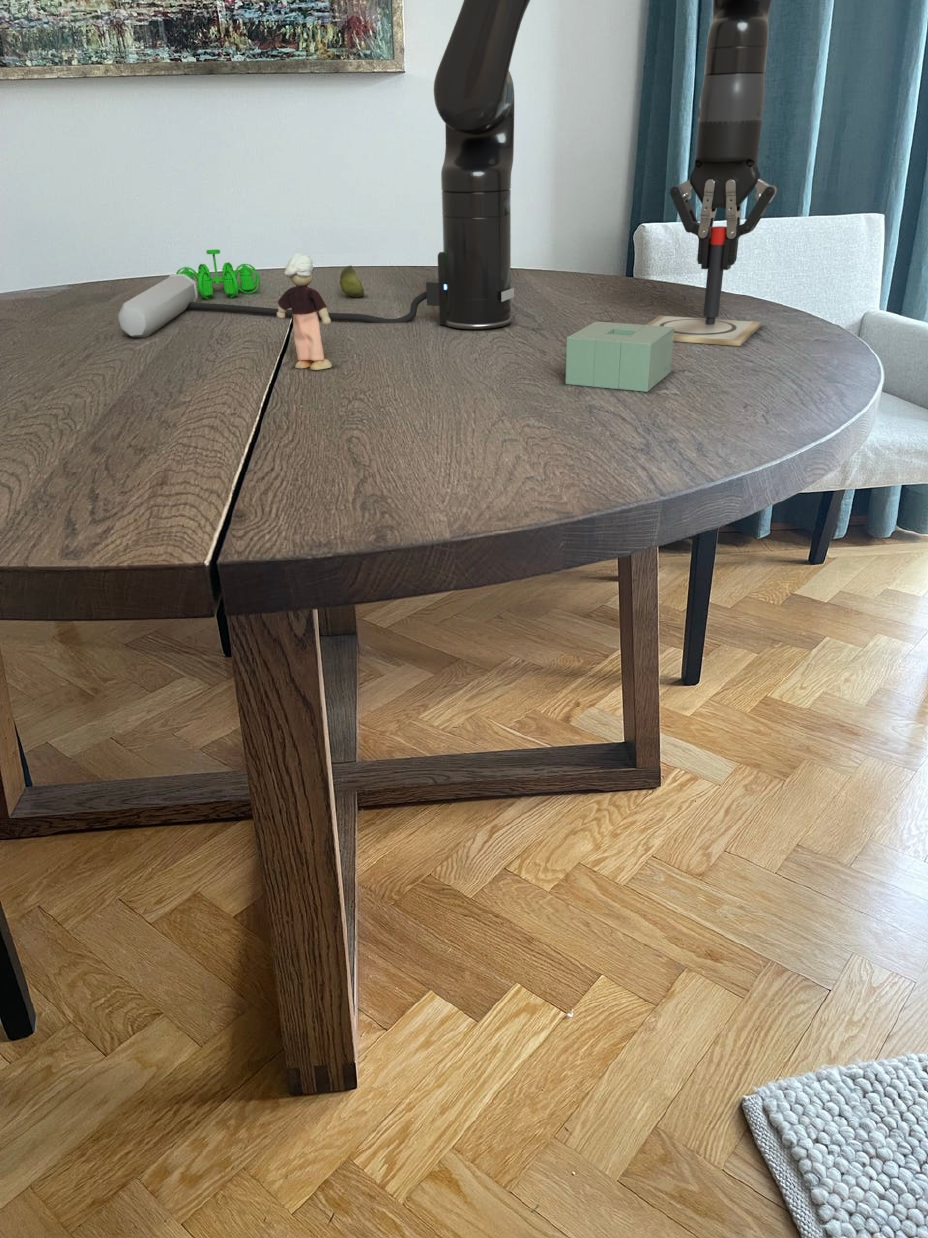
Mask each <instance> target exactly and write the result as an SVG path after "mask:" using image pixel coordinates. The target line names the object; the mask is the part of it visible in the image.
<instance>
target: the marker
mask: <svg viewBox="0 0 928 1238" xmlns="http://www.w3.org/2000/svg"><path fill="white" fill-rule="evenodd" d="M725 239H727V226H723V225H722V226H719V225H718V226H717V225H716V226H713V227H711V237H710V251H709V261H708V269H707V271H706V272H707V273H706V283H705V293H704V304H703V314H702V316H703V317H704V318H705V319H706V324H708V325H713V324H715V319H716V318H718V317H719V315H720V305H721V297H722V289H723V288H722V287H723V279H724V270H722V262H723V252H724V241H725Z"/></svg>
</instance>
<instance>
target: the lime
mask: <svg viewBox="0 0 928 1238" xmlns="http://www.w3.org/2000/svg"><path fill="white" fill-rule="evenodd" d="M339 277H340V278H339V286H340V289H341V291H342V293H344V294H345V295H346V296H349V297H352V298H362V297H365V290H364V287H363V284H362V282H361V280H360V278H359V276H358V274H357V273H356V270H355V269H354V267H353V265H347V266H346V267H344V268H343V269H342V271H341V272H340V275H339Z"/></svg>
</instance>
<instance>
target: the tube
mask: <svg viewBox="0 0 928 1238" xmlns="http://www.w3.org/2000/svg"><path fill="white" fill-rule="evenodd" d="M197 285H198V283H197V281H195V279H194V280H193V279H191V278H190V277H188V276H187V275H185V274H176V273H170V274H169V276H168V277H167V278H165V279H163V280H161V281H160V282H158V283H156V284H155V285H153V286H151V287H150V288H148V289H146V290H143V292H141V293H139V294H137V295H136V296H134V297H132V298H130V299H129V300H127V301H125V302H124V303H122V306H121V308H120V310H119V312H118V313H117V320H118V325H119V330H120V331H122V332H123V333H125V334H127V335H128V336H129V337H131V338H133V339H145V338H149V337H150V336H151V335H152V334H154V333H155V332H157V331H158V330H160V329H161V328H162V327H164V326H165V325H167V324H168V323H170V321H172V320H173V319H175V318H176V317H177V316H179V315H180V314H181V313H183V312H184V311H186V310H188V309H187V306H188V305H189V303H196V301H197V299H198V297H199V291H197Z"/></svg>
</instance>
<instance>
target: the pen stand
mask: <svg viewBox="0 0 928 1238" xmlns="http://www.w3.org/2000/svg"><path fill="white" fill-rule="evenodd" d="M673 339H674V327H666V326H652V325H646V324H635V323H622V322H608V321H594V322H592V323H591V324H589V325H587V326H584V327H582V329H580V330H578V331H576V332H574V333H573V334H571V335H569V336H567V337H566V354H565V356H566V357H565V358H566V359H565V385H571V386H581V387H591V388H592V387H594V388H602V389H612V390H622V391H632V392H643V393H648V392H649V391H650V390H652V388H654V387H655V386H656V385H657V384H658V383H660V382H661V381H662V380H664V378H665V377H667V376H668V375H669V374H671V372H672V363H673V362H672V361H673V349H674V341H673Z"/></svg>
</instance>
